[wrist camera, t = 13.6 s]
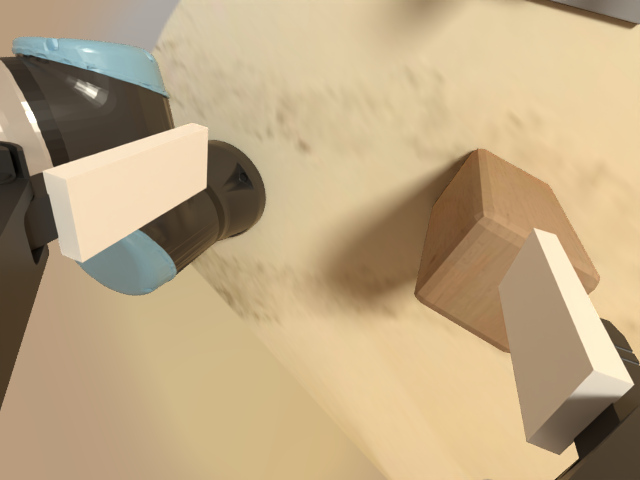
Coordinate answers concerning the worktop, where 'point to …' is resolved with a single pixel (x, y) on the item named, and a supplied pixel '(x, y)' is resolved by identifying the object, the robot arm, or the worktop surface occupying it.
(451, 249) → the wooden block
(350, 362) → the worktop surface
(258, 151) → the worktop surface
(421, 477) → the worktop surface
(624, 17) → the wooden ring socket base
